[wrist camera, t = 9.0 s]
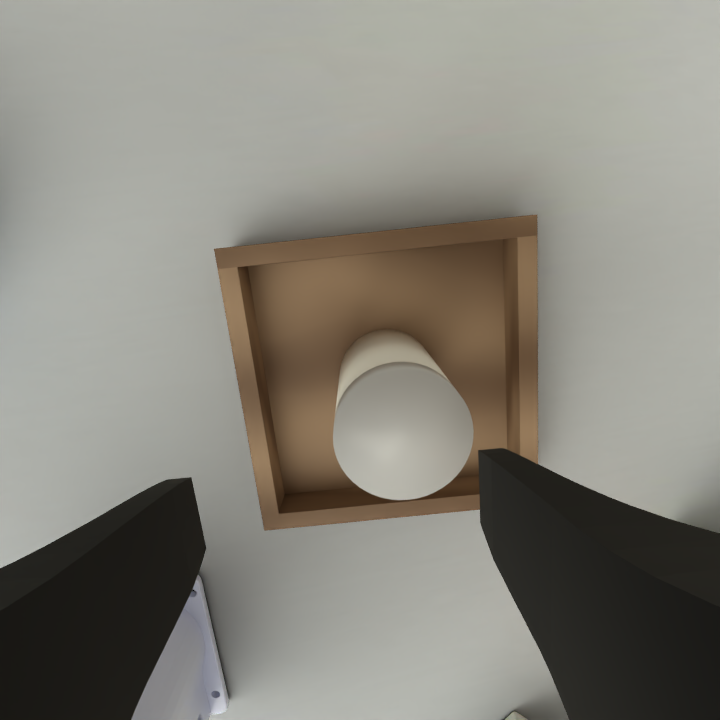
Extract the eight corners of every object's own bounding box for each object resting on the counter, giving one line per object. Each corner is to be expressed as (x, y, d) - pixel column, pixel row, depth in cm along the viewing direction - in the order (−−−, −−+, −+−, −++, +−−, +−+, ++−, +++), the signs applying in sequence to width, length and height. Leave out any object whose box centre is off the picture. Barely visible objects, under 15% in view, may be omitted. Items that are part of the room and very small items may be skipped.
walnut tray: (520, 479, 22) (537, 503, 20) (273, 504, 22) (264, 530, 20) (516, 219, 19) (537, 214, 17) (230, 250, 19) (214, 249, 17)
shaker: (435, 413, 20) (476, 492, 14) (345, 422, 20) (341, 506, 14) (429, 324, 19) (470, 362, 12) (334, 334, 19) (324, 378, 12)
